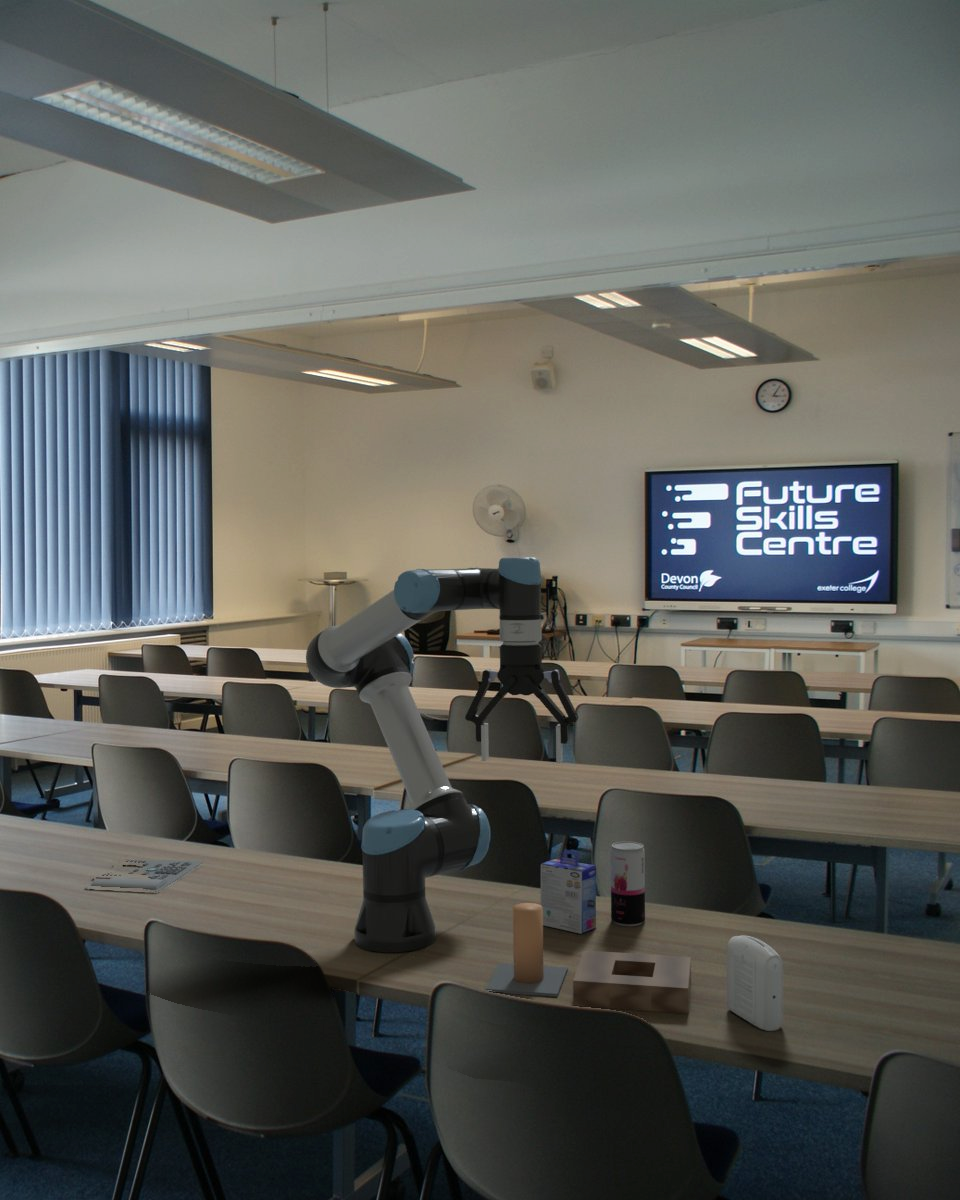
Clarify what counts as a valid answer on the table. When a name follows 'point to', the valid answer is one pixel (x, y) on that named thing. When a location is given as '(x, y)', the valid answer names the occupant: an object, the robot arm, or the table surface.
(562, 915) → the ink cartridge box
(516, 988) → the mat
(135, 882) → the office telephone
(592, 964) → the pocket block
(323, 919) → the table surface
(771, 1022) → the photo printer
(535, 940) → the peg
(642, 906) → the beverage can
